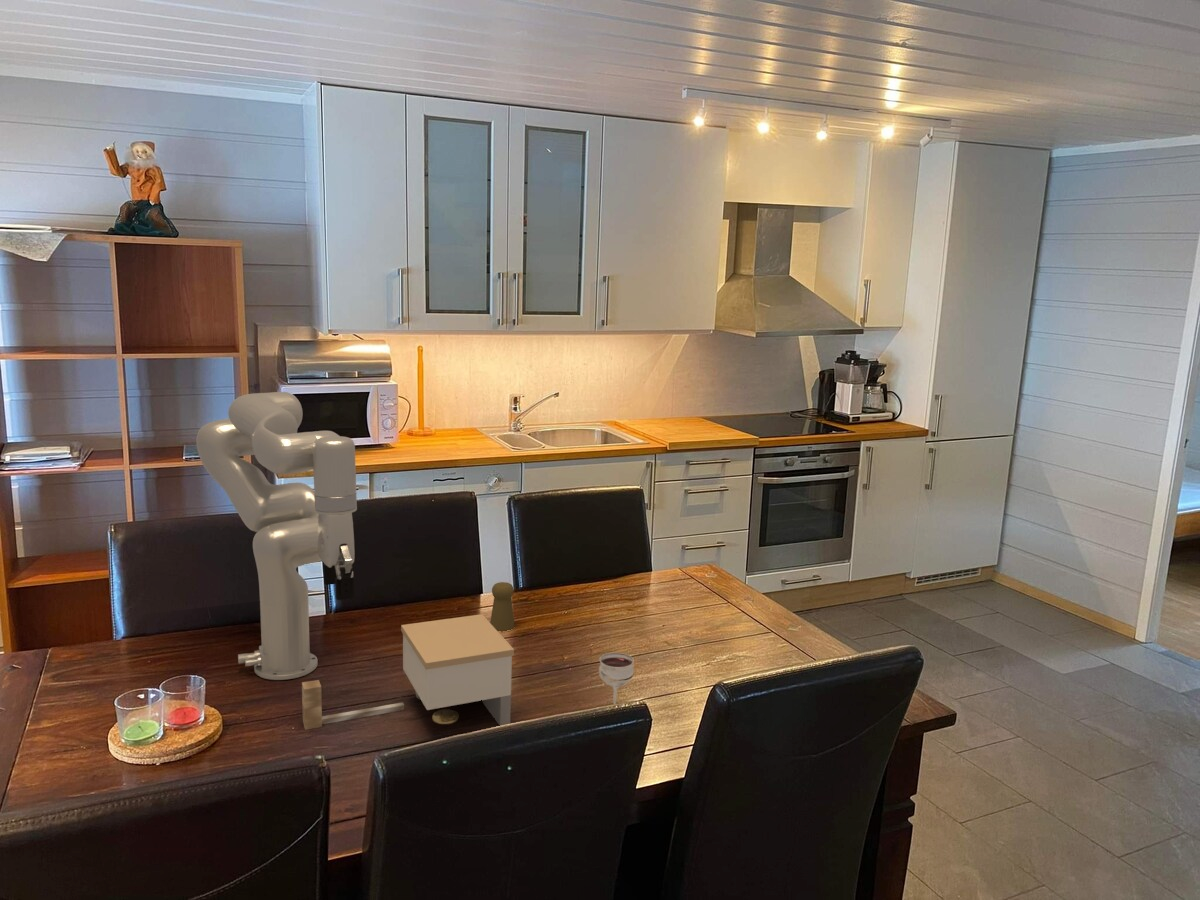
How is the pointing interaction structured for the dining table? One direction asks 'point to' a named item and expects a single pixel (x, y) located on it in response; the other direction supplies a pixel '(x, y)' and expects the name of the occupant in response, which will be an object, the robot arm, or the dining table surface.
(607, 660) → the wineglass
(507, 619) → the olive pawn
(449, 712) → the brass disc
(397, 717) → the dining table surface
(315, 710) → the wooden mallet
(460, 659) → the low cabinet
